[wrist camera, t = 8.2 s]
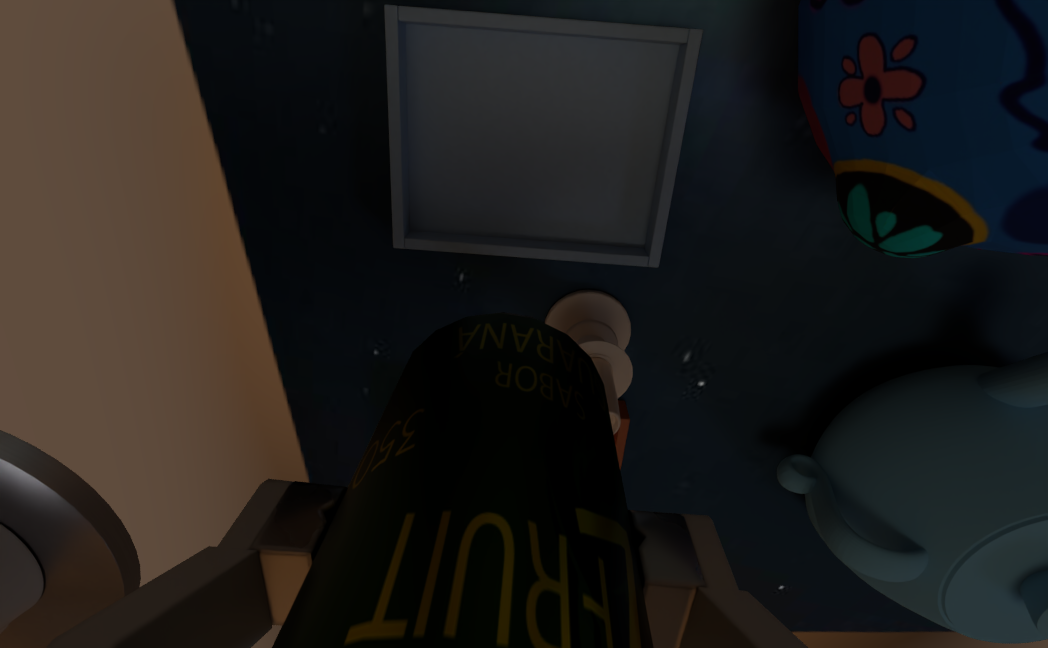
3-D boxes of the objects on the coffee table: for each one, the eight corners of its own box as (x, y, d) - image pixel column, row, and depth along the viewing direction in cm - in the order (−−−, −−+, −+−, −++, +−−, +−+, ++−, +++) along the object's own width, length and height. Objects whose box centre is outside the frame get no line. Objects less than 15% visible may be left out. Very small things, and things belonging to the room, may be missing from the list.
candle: (633, 289, 31) (674, 383, 22) (625, 366, 34) (659, 482, 24) (544, 288, 31) (547, 381, 22) (542, 365, 34) (544, 479, 24)
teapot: (733, 525, 39) (814, 713, 27) (803, 263, 30) (962, 379, 19) (1006, 536, 39) (1202, 730, 27) (1153, 276, 30) (1529, 401, 19)
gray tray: (401, 237, 30) (392, 247, 28) (395, 9, 25) (383, 4, 24) (651, 255, 30) (658, 268, 28) (691, 32, 26) (703, 29, 24)
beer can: (561, 491, 16) (598, 1403, 5) (385, 439, 15) (-9, 1346, 4) (636, 339, 14) (995, 1394, 3) (432, 271, 13) (-128, 1273, 2)
